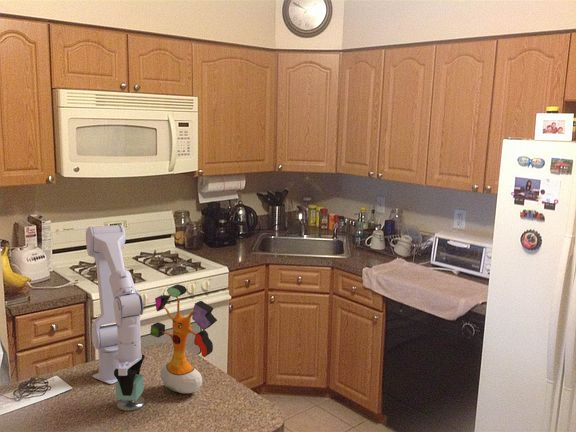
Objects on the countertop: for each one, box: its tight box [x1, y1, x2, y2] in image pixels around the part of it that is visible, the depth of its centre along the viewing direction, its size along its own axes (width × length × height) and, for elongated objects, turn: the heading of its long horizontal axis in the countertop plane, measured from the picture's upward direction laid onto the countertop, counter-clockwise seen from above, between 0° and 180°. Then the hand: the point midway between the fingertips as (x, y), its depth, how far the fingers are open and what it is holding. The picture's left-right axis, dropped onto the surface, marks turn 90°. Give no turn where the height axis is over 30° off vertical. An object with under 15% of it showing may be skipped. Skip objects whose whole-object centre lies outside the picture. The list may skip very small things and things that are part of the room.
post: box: [116, 395, 146, 413], centre depth 144 cm, size 7×7×4 cm
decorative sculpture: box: [149, 284, 218, 394], centre depth 150 cm, size 20×8×30 cm, turn 65°
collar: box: [115, 373, 145, 401], centre depth 144 cm, size 5×5×4 cm
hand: (130, 388), depth 144 cm, fingers closed on collar, 6 cm apart
